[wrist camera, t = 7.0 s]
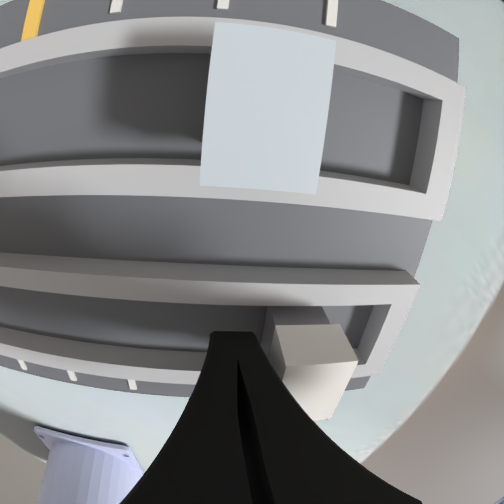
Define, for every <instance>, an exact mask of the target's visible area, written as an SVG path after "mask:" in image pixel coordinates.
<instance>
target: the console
mask: <svg viewBox="0 0 504 504" xmlns="http://www.w3.org/2000/svg"><path fill="white" fill-rule="evenodd" d="M215 22H222V23H235V24H246V25H255V26H263V27H270V28H277V29H283V30H289V31H294V32H299V33H305V34H309V35H314V36H318V37H323V38H327V39H331V40H335V41H336V49H335V59H334V69H333V78H332V86H331V95H330V103H329V111H328V118H327V125H326V133H325V140H324V146H323V153H322V160H321V166H320V172H319V179H318V185H317V191H316V195H315V194H305V193H295V192H284V191H273V190H260V189H247V188H232V187H215V186H199V185H200V168H201V154H202V140H203V128H204V116H205V105H206V95H207V85H208V76H209V67H210V59H211V50H212V43H213V35H214V28H215ZM458 62H459V38H457V37H456V36H454V35H452V34H450V33H449V32H447V31H445V30H443V29H442V28H440V27H438V26H436V25H434V24H432V23H430V22H428V21H426V20H424V19H422V18H420V17H418V16H416V15H414V14H412V13H410V12H408V11H405V10H403V9H401V8H398V7H396V6H394V5H391V4H389V3H386V2H384V1H381V0H13V1H10V2H8V3H6V4H3V5H1V6H0V366H3V367H7V368H10V369H13V370H17V371H21V372H24V373H28V374H32V375H36V376H40V377H44V378H49V379H53V380H58V381H63V382H67V383H73V384H78V385H83V386H89V387H95V388H102V389H108V390H115V391H123V392H131V393H140V394H151V395H163V396H177V397H190V396H191V394H192V392H193V390H194V388H195V385H196V383H197V380H198V378H199V375H200V372H201V370H202V367H203V364H204V361H205V358H206V354H207V350H208V346H209V341H210V333H212V332H213V331H245V332H253V333H254V334H255V335H256V337H257V339H258V342H259V344H260V346H261V341H262V335H263V329H264V323H265V317H266V311H267V306H322V308H323V310H324V312H325V314H326V316H327V318H328V320H329V322H330V324H340V325H341V327H342V329H343V331H344V333H345V335H346V337H347V339H348V341H349V343H350V345H351V347H352V349H353V351H354V353H355V354H356V356H357V358H358V360H359V361H358V363H357V366H356V368H355V370H354V372H353V374H352V376H351V378H350V380H349V382H348V385H347V387H346V389H345V391H346V390H354V389H360V388H364V387H365V385H366V384H367V382H368V380H369V378H370V376H372V375H378V374H379V373H380V372H381V370H382V368H383V366H384V364H385V362H386V360H387V358H388V356H389V354H390V352H391V350H392V348H393V346H394V344H395V342H396V340H397V338H398V336H399V333H400V331H401V329H402V327H403V325H404V322H405V320H406V318H407V316H408V313H409V311H410V309H411V306H412V304H413V301H414V299H415V296H416V294H417V291H418V289H419V286H420V284H419V283H418V282H417V281H416V280H415V279H414V276H415V273H416V270H417V267H418V265H419V262H420V259H421V256H422V253H423V250H424V247H425V243H426V240H427V237H428V234H429V230H430V227H431V223H432V220H435V221H442V217H443V214H444V210H445V206H446V203H447V199H448V195H449V190H450V186H451V182H452V177H453V173H454V168H455V163H456V158H457V153H458V147H459V141H460V135H461V128H462V121H463V113H464V105H465V94H466V87H464V86H462V85H460V84H458V83H457V79H458Z"/></svg>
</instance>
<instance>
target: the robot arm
mask: <svg viewBox="0 0 504 504" xmlns="http://www.w3.org/2000/svg"><path fill="white" fill-rule="evenodd" d="M34 432H35V433H36V435H37V436H38V437H39V438H40V440H41V441H42V442H43V443H44V444H45V446H46V447H47V448H48V449H49V450H50V452H49V456H48V460H47V463H46V468H45V471H44V476H43V480H42V484H41V489H40V493H39V498H38V503H37V504H422V502H421V501H420V500H418V499H415V498H414V497H412V496H410V495H408V494H406V493H404V492H402V491H400V490H398V489H397V488H395V487H393V486H392V485H390V484H388V483H387V482H385V481H384V480H382V479H381V478H379V477H378V476H376V475H375V474H373V473H372V472H370V471H369V470H367V469H366V468H365V467H364V466H362V465H361V464H360V463H358V462H357V461H356V460H355V459H353V458H352V457H351V456H350V455H348V454H347V453H346V452H345V451H343V450H342V449H341V448H340V447H339V446H338V445H337V444H336V443H335V442H334V441H332V440H331V439H330V438H329V437H328V436H327V435H326V434H325V433H324V432H323V431H322V430H321V429H320V428H319V427H318V426H317V425H316V423H315V422H314V421H313V420H312V419H311V418H310V417H309V416H308V414H307V413H306V412H305V411H304V410H303V409H302V407H301V406H300V405H299V403H298V402H297V401H296V400H295V398H294V397H293V396H292V394H291V393H290V392H289V390H288V389H287V388H286V386H285V385H284V383H283V382H282V380H281V379H280V377H279V376H278V374H277V373H276V371H275V370H274V368H273V367H272V365H271V363H270V362H269V360H268V358H267V356H266V355H265V353H264V351H263V349H262V347H261V346H260V344H259V342H258V339H257V337H256V335H255V334H254V333H253V332H245V331H213V332H212V333H210V341H209V346H208V350H207V354H206V358H205V361H204V364H203V367H202V370H201V372H200V375H199V378H198V380H197V383H196V385H195V388H194V390H193V392H192V394H191V396H190V399H189V401H188V403H187V405H186V407H185V409H184V411H183V413H182V415H181V417H180V419H179V421H178V422H177V424H176V426H175V428H174V430H173V431H172V433H171V435H170V436H169V438H168V440H167V441H166V443H165V444H164V446H163V447H162V449H161V451H160V452H159V454H158V455H157V457H156V458H155V460H154V461H153V462H152V464H151V465H150V467H149V468H148V469H147V471H146V472H145V473H143V472H142V470H141V468H140V466H139V464H138V462H137V460H136V458H135V456H134V454H133V452H132V450H131V449H130V448H129V447H127V446H124V445H117V444H111V443H106V442H100V441H95V440H90V439H85V438H81V437H77V436H72V435H68V434H64V433H60V432H57V431H53V430H49V429H46V428H42V427H39V426H35V427H34ZM493 504H504V497H502V498H500V499H499V500H497V501H496V502H494V503H493Z"/></svg>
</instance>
